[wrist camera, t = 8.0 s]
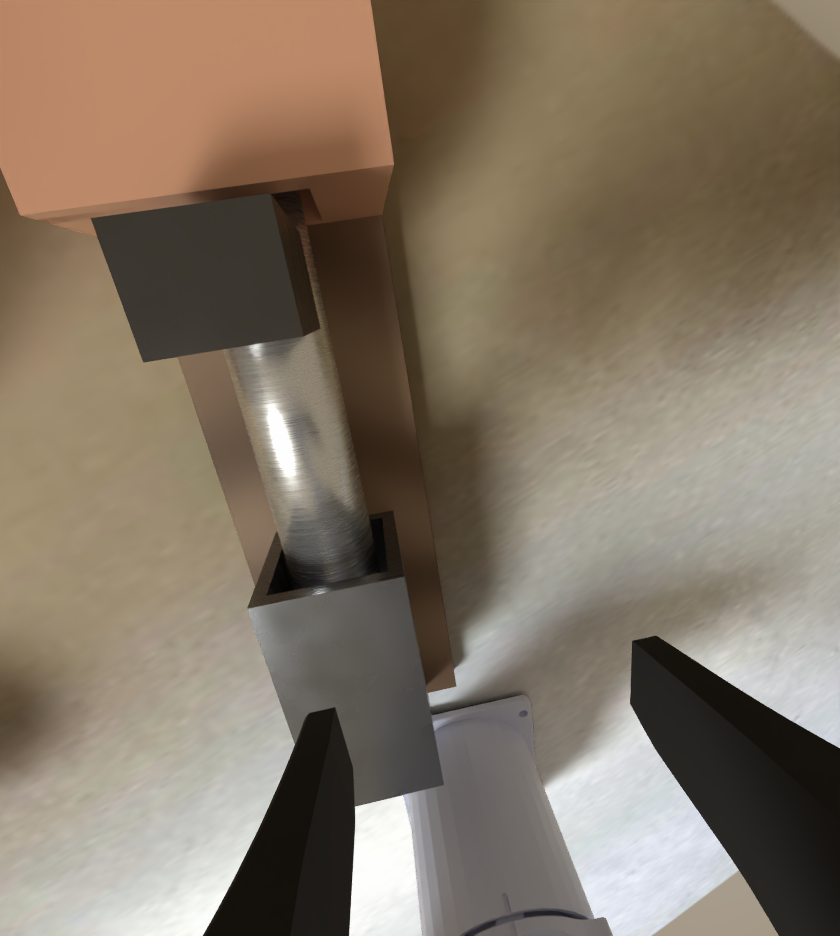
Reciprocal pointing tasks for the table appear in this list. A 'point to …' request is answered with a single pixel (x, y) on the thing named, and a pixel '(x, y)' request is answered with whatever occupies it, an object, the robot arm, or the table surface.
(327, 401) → the steel tube
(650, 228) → the table surface
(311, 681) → the metal sleeve
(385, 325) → the walnut base board
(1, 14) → the terracotta socket
